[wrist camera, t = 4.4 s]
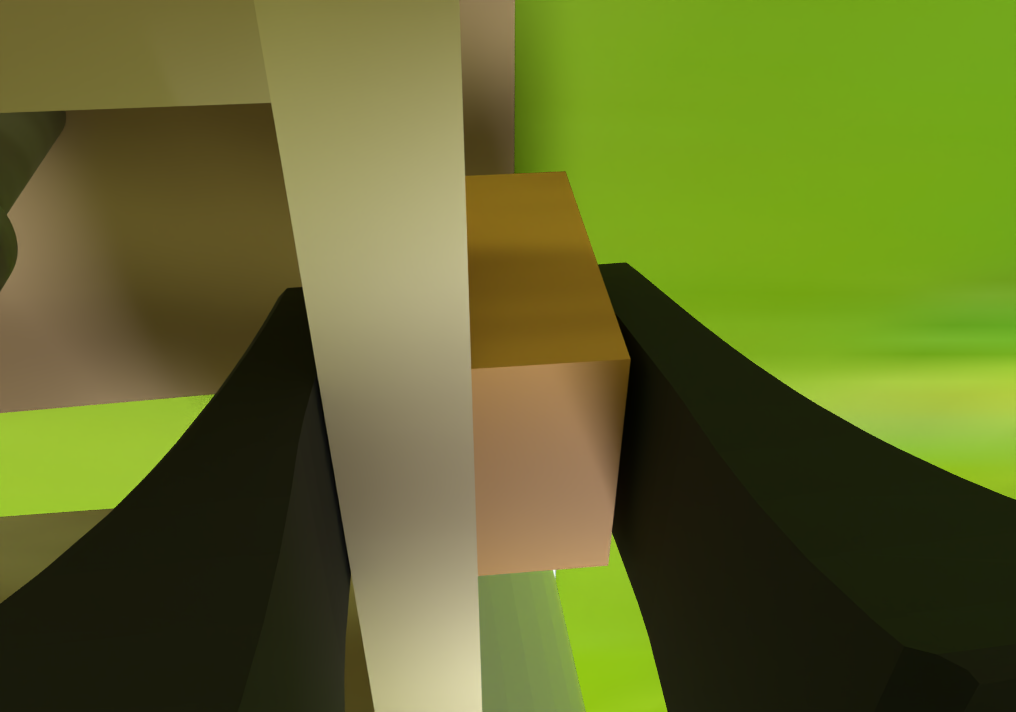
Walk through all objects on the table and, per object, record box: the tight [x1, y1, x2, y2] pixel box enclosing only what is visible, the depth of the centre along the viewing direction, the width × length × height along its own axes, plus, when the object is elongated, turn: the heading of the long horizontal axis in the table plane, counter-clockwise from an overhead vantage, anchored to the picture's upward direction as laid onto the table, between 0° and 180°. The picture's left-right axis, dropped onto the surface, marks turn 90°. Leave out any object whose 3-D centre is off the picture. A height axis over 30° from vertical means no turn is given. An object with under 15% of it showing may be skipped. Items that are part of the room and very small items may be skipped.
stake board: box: [0, 0, 515, 413], centre depth 16 cm, size 15×16×7 cm
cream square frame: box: [0, 0, 631, 712], centre depth 10 cm, size 11×12×4 cm
